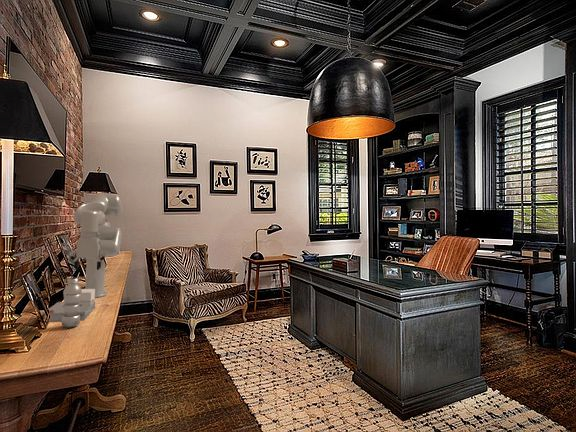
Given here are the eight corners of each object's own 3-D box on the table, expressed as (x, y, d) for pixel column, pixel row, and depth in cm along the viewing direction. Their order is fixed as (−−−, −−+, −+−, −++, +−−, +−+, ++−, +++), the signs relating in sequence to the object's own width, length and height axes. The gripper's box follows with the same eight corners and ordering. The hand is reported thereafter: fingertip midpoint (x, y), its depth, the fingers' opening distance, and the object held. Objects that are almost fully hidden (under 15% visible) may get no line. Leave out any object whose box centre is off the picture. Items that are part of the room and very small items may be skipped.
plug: (82, 303, 185) (83, 287, 185) (95, 302, 186) (96, 287, 186) (76, 308, 174) (77, 292, 174) (90, 308, 176) (91, 292, 176)
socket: (57, 309, 171) (57, 301, 171) (94, 308, 176) (95, 300, 176) (42, 321, 152) (42, 312, 152) (84, 320, 157) (84, 311, 157)
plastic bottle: (57, 327, 146) (60, 278, 146) (74, 323, 152) (76, 276, 152) (67, 330, 143) (69, 280, 143) (83, 326, 149) (85, 278, 149)
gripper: (109, 235, 185) (107, 268, 185) (71, 234, 180) (70, 268, 180) (106, 236, 178) (105, 270, 178) (67, 235, 173) (65, 270, 173)
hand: (87, 269), depth 179 cm, fingers open, 9 cm apart
